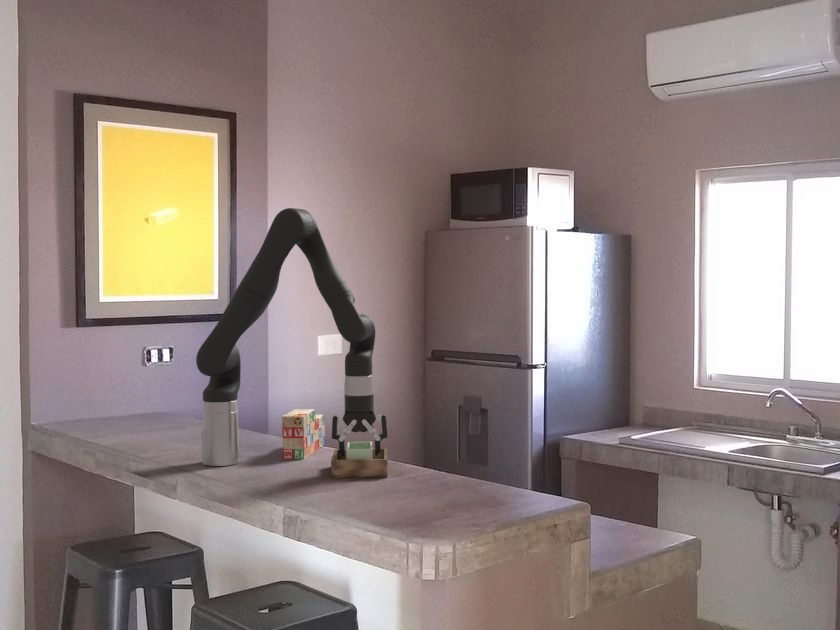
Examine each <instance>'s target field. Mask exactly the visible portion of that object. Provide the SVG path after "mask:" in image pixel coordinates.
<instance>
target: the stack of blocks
mask: <svg viewBox="0 0 840 630" xmlns="http://www.w3.org/2000/svg"><path fill="white" fill-rule="evenodd" d="M281 421H282V424H281V425H282V426H281V427H282V429H281V433H282V459H283V460H301V459H304V460H306V459H307V458H309V457H310V456H312V455H313V454H315V453H316V452H317V451H318V450H320V449H321V448H322V447H324V446H325V445H326V443H325V441H326V439H325V437H326V436H325V434H326V433H325V429H326V428H325V415H324V414H320V413H319V414H317V413H316V409H315V408H309V409H308V408H307V409H306V408H294V409H292V410H291V411H289V412H288V413H286V414H283V415H282V416H281ZM316 446H317V447H316ZM320 447H321V448H320ZM318 448H319V449H318ZM316 450H317V451H316ZM312 453H313V454H312ZM311 454H312V455H311ZM309 455H310V456H309ZM308 456H309V457H308ZM305 458H306V459H305Z"/></svg>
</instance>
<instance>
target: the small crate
mask: <svg viewBox="0 0 840 630" xmlns="http://www.w3.org/2000/svg"><path fill="white" fill-rule="evenodd" d="M345 449H346V458H347V460H358V459H373V454H372V449H373V441H347V445H346V448H345Z"/></svg>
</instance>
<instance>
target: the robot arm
mask: <svg viewBox="0 0 840 630" xmlns="http://www.w3.org/2000/svg"><path fill="white" fill-rule="evenodd" d="M295 246H297V247H298V248H299V249H300V250H301V252H302V254H304V256H305V257H306V260H307V261H308V263H309V265H310V268H311V270H312V274H313V278H314V281H315V285H316V287H317V289H318V291H319V293H320V295H321V297H322V299H323V300H324V302H325V303H326V305H327V307H328V308H329V309H330V311H331V314H332V318H333V320H334V322H335V326H336V328H337V331H338V332H339V334H340V335H341V337H342V338H343V339H344V340H345V341H347V343H349V350H348V352H347V353H346V355H345V358H344V381H343V384H344V385H343V386H344V387H343V389H344V390H343V391H344V392H343V393H344V397H343V398H344V414H343V415H337V414H333V416H332V422H331V423H332V424H331V439H332V440H336V441H338V449H339V453H340V454H342V456H345V449H346V447H345V446H346V445H345V443H346V442H345V441H346V440H345V439H346V438H347V436H348V435H349V433H350V432H353V433H366V432H369V434H370V435H372V437H373V438H374V439H375V440H374V449H375V455H378V453H380V450H381V449H380V448H381V441H382V440H384V439H387V438H388V425H387V424H388V423H387V415H386V414H385V413H383V414H379V415H376V413H375V402H374V401H375V399H374V398H375V397H374V396H375V395H374V393H375V392H374V391H375V388H374V386H375V385H374V377H373V353H374V348H375V342H376V325H375V322H374V319H372V318H371V317H370V316H369V315H366V314H359V312H358V311H357V308H356V306H355V302H356V299H355V296H354V294H353V292H352V290H351V289H350V287H349V285H348V284H347V282H346V280H345V279H344V277H343V276H342V273H340V271H339V269H338V267H337V265H336V264H335V261H334V259H333V257H332V256H331V253H330V252H329V249H328V247H327V245H326V243H325V240H324V238H323V236H322V233H321V230H320V228H319V225H318V223H317V220H316V219H315V217H314V216H313V214H312V213H311V212H309V211H308V210H306V209H302V208H293V207H288V208H287V207H286V208H285V209H282V210H280V211H279V212H278V213H277V214H276V216H275V217H274V218H273V220H272V223H271V225H270V227H269V229H268V231H267V234H266V236H265V238H264V240H263V243H262V245H261V246H260V249H259V251H258V253H257V254H256V256H255V258H254V259H253V260H252V263H251V265H250V266H249V268H248V270H247V271H246V273H245V274H244V276H243V278H242V279H241V281H240V283H239V284H238V286H237V288H236V289H235V291H234V292H233V293H234V294H233V296H232V297H231V300H230V301H229V303H227V306H226V308H225V310H224V311H223V313H222V315H221V317H220V318H219V320H218V322H217V323H216V325H215V326H214V327H213V330H211V332H210V334H209V335H208V336H207V338H206V339H205V340H204V342H203V343H202V344H201V345H200V347H199V348H198V351H197V354H196V359H195V360H196V361H195V363H196V368H197V369H198V371H199V372H200V374H202V375H204V376H206V377H209V382H208V384H207V386H206V387H205V388H204V389H203V391H202V413H203V415H202V417H203V421H202V422H203V428H202V430H201V445H202V446H201V447H202V448H201V449H202V466H210V467H223V466H232V465H236V464H238V463H240V452H239V450H240V449H239V448H240V447H239V445H240V442H239V409H238V408H239V407H238V405H239V404H238V402H239V401H238V397H239V395H238V394H239V391H240V387H241V367H242V366H241V364H242V363H241V354H240V350H239V348H238V347H237V345H236V344H237V342H238V341H239V339H240V338H241V336H243V334H244V333H245V332H246V331H247V330H248V329H250V328H251V326H253V325H254V324H255V322H257V320H258V319H260V318H261V316H262V315H263V314H264V312H265V311H266V310H267V308H268V307H269V304H270V302H271V301H272V300H273V298H274V297H275V293H276V292H277V290H278V286H279V282H280V281H279V280H280V274H281V270H282V266H283V264H284V262H285V261H286V258H288V256H289V255H290V253H291V251H292V249H293V248H294V247H295ZM376 420H377V421H378V424H381V431H382V433H380V434H379V432H378V431H377V430H376V428H375V427H374V426H373V425H374V423H375V422H376ZM342 421H343V423H344V424H345V425H346V427H345V428H344V429H343V431H342V433H341V434H338V425H340V424H341V422H342Z"/></svg>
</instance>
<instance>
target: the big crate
mask: <svg viewBox="0 0 840 630" xmlns="http://www.w3.org/2000/svg"><path fill="white" fill-rule="evenodd" d="M346 449H347V448H345V456H342V454H340V453H339V448H338V449H334V450H333V453H332V456H331V459H330V466H331V467H330V469H331V470H330V478H331V479H364V478H365V477H381V478H388V469H389V468H388V448H386V447H385V448H381V447H380V449H381V450H380V453H378V455H375V448H372V454H373V459H358V460H347V458H346ZM387 468H388V469H387ZM365 479H366V478H365Z"/></svg>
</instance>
